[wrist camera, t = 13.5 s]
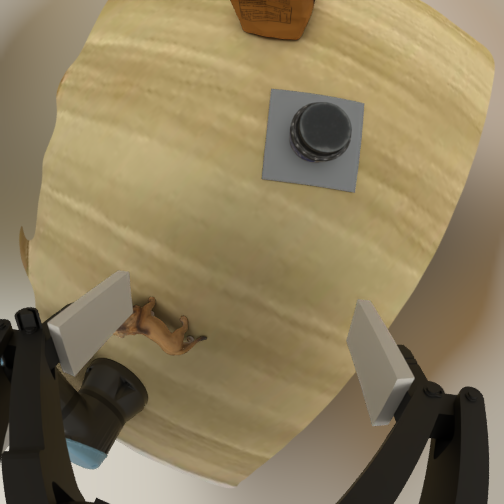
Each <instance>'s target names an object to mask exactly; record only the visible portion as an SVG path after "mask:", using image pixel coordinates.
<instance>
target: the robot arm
mask: <svg viewBox="0 0 504 504" xmlns="http://www.w3.org/2000/svg"><path fill="white" fill-rule="evenodd" d="M132 313H133V307H132V298H131V288H130V276H129V272H126V271H120V270H118V271H117V272H115V273H114V274H113V275H111V276H110V277H108V278H107V279H105V280H104V281H103V282H101V283H100V284H98V285H97V286H96V287H94V288H93V289H91V290H90V291H89V292H87V293H86V294H85V295H83V296H82V297H80V298H79V299H78V300H76V301H75V302H73V303H70V304H68V305H66V306H65V307H63V308H62V309H61V311H60V310H59V311H58V312H57V313H56V314H54V315H53V316H51V317H50V318H49V319H47V320H46V321H45V322H44V323H42V324H41V320H40V317H39V313H38V310H37V309H36V308H32V307H30V308H29V307H27V308H23V309H21V310H19V311H18V312H17V313H16V314H15V319H16V322H17V326H18V328H19V330H15V329H12V326H11V323H10V321H9V320H6V319H0V462H1V463H2V475H3V483H4V492H5V498H6V504H109V503H107V502H105V501H103V500H100V499H98V498H96V500H95V502H94V503H93V502H86V501H85V499H84V497H83V496H82V494H81V493H80V491H79V489H78V487H77V483H76V481H75V477H74V473H73V469H72V465H71V462H73V463H74V464H76V465H79V466H81V467H84V468H87V469H96V468H98V467H99V466H100V465H101V463H102V462H103V460H104V459H105V458H106V457H107V454H108V452H109V451H110V449H111V447H112V445H113V443H114V442H115V440H116V438H117V436H118V435H119V433H120V431H121V429H122V428H123V426H124V424H125V423H126V422H127V421H128V420H130V419H131V418H132V417H134V416H135V415H136V414H138V413H139V412H140V411H142V409H143V408H144V406H145V404H146V403H147V400H148V396H147V392H146V390H145V388H144V386H143V385H142V383H141V382H140V381H139V379H138V378H137V377H136V376H135V375H134V374H133V373H132V372H130V371H129V370H128V369H127V368H125V367H124V366H122V365H120V364H119V363H117V362H114V361H112V360H109V359H104V358H100V359H96V360H94V361H93V362H92V363H91V364H90V366H89V367H88V368H87V371H86V374H85V377H84V380H83V383H82V386H81V389H80V390H79V391H78V392H77V391H76V390H75V389H74V388H73V387H72V385H71V384H70V383H69V382H68V381H67V380H66V378H65V377H64V376H63V375H62V373H61V372H60V371H59V370H58V369H57V367H56V365H57V364H58V363H59V362H60V364H61V367H62V370H63V372H65V373H68V374H70V375H72V376H76V374H77V373H78V372H79V371H80V370H81V369H82V368H83V367H84V365H85V364H86V363H87V362H88V361H89V360H90V359H91V358H92V356H93V355H94V354H95V353H96V352H97V351H98V350H99V349H100V348H101V346H102V345H103V344H104V343H105V342H106V341H107V340H108V339H109V338H110V337H111V336H112V335H113V333H114V332H115V331H116V330H117V329H118V328H119V327H120V326H121V325H122V324H123V323H124V322H125V321H126V320H127V318H128V317H129V316H130V315H131V314H132ZM346 341H347V344H348V347H349V350H350V353H351V356H352V359H353V363H354V366H355V369H356V372H357V375H358V378H359V382H360V384H361V388H362V392H363V395H364V398H365V402H366V405H367V409H368V412H369V416H370V419H371V423H372V426H378V425H388V424H389V422H390V421H391V419H392V417H393V416H394V417H395V420H396V424H395V425H394V427H393V428H392V430H391V431H390V433H389V434H388V436H387V437H386V439H385V441H384V442H383V444H382V445H381V447H380V448H379V450H378V451H377V453H376V454H375V455H374V457H373V458H372V460H371V461H370V462H369V464H368V465H367V467H366V468H365V469H364V470H363V472H362V473H361V474H360V476H359V477H358V478H357V479H356V481H355V482H354V483H353V484H352V486H351V487H350V488H349V489H348V490H347V491H346V493H345V494H344V495H343V496H342V497H341V499H340V500H339V501H338V502H337V503H336V504H394V502H395V501H396V499H397V497H398V496H399V494H400V493H401V491H402V489H403V488H404V486H405V484H406V482H407V481H408V479H409V477H410V475H411V473H412V471H413V470H414V468H415V466H416V464H417V462H418V460H419V458H420V456H421V454H422V451H423V449H424V447H425V445H426V443H427V441H428V439H429V438H431V444H430V451H429V458H428V464H427V470H426V475H425V480H424V485H423V489H422V493H421V498H420V501H419V504H487V501H488V486H489V446H488V431H487V420H486V412H485V404H484V398H483V395H482V394H481V393H480V391H478V390H477V389H475V388H473V387H464V388H462V389H461V390H460V392H459V394H458V395H452V394H445V393H444V390H443V389H442V388H441V386H440V385H438V384H436V383H434V382H431V381H428V380H427V378H426V377H425V375H424V373H423V372H422V370H421V368H420V366H419V365H418V364H417V361H416V359H414V356H413V355H412V353H411V351H410V350H409V349H408V348H406V347H405V346H404V345H396V343H395V341H394V339H393V338H392V336H391V334H390V333H389V331H388V329H387V327H386V326H385V324H384V322H383V321H382V319H381V317H380V316H379V314H378V312H377V311H376V309H375V307H374V306H373V304H372V303H371V301H370V300H360V299H358V300H357V304H356V308H355V311H354V315H353V319H352V323H351V326H350V330H349V333H348V337H347V340H346ZM8 446H9V451H5V450H6V448H7V447H8Z"/></svg>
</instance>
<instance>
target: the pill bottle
mask: <svg viewBox="0 0 504 504" xmlns="http://www.w3.org/2000/svg"><path fill="white" fill-rule="evenodd" d="M351 132H352V127H351V122H350V119H349V117H348V115H347V114H346V113H345V112H344V110H342V109H341V108H340V107H339V106H337V105H335V104H332V103H328V102H315V103H310V104H308V105H305V106H303V107H302V108H301V109H299V110H298V112H297V113H296V114H295V115H294V117H293V119H292V122H291V126H290V145H291V148H292V149H293V151H294V152H295V154H296V155H297V156H298V157H300V158H301V159H303V160H305V161H308V162H313V163H319V162H325V161H330V160H333V159H336V158H338V157H339V156H341V155H342V154H343V153H344V152H345V151H346V149H347V148H348V146H349V144H350V141H351Z"/></svg>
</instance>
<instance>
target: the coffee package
mask: <svg viewBox="0 0 504 504" xmlns="http://www.w3.org/2000/svg"><path fill="white" fill-rule="evenodd" d="M230 1H231V3H232V5H233V7H234V9H235V12H236V14H237V16H238V18H239V20H240V23H241V26H242V29H243V30H244V31H245V32H248V33H254V34H257V35H261V36H266V37H275V38H280V39H296V40H297V39H299V38H300V37H301V36H302V34H303V31H304V29H305V27H306V25H307V23H308V21H309V19H310V16H311V14H312V11H313V7H314V2H315V0H230Z"/></svg>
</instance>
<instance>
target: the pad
mask: <svg viewBox="0 0 504 504" xmlns="http://www.w3.org/2000/svg"><path fill="white" fill-rule="evenodd" d="M315 102H328V103H332V104H335V105H337V106H339V107H340V108H341V109H342V110H344V112H345V113H346V114H347V115H348V117H349V119H350V122H351V127H352V132H351V141H350V144H349V146H348V148H347V149H346V151H345V152H344V153H343V154H342V155H341V156H339V157H338V158H336V159H333V160H330V161H325V162H319V163H313V162H308V161H305V160H303V159H301V158H300V157H298V156H297V155H296V154H295V152H294V151H293V149H292V148H291V145H290V126H291V122H292V119H293V117H294V115H295V114H296V113H297V112H298V110H299V109H301V108H302V107H303V106H305V105H308V104H310V103H315ZM363 114H364V103H360V102H355V101H351V100H346V99H341V98H335V97H330V96H324V95H318V94H311V93H304V92H297V91H288V90H279V89H271V97H270V106H269V116H268V125H267V135H266V144H265V154H264V163H263V172H262V179H266V180H275V181H283V182H290V183H298V184H305V185H312V186H318V187H325V188H331V189H337V190H343V191H349V192H354V193H355V187H356V180H357V173H358V165H359V156H360V147H361V138H362V127H363Z"/></svg>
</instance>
